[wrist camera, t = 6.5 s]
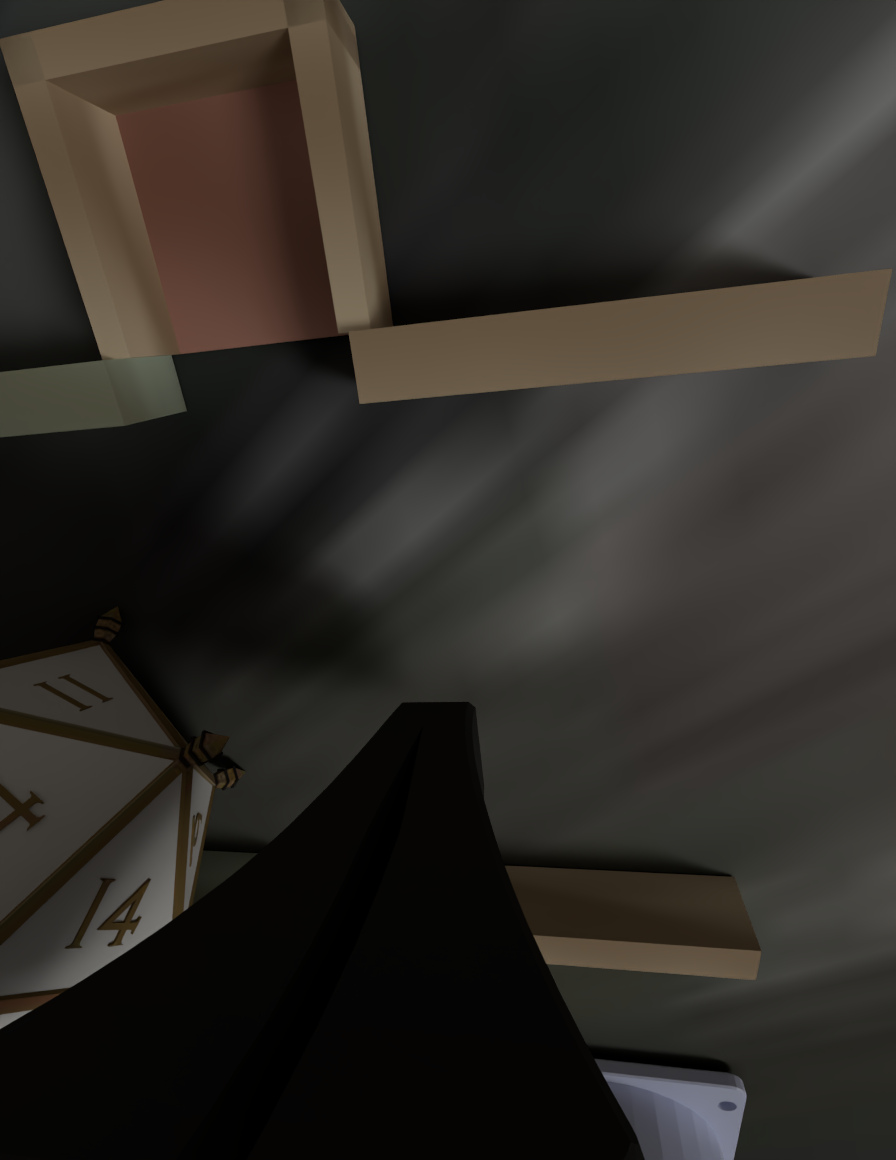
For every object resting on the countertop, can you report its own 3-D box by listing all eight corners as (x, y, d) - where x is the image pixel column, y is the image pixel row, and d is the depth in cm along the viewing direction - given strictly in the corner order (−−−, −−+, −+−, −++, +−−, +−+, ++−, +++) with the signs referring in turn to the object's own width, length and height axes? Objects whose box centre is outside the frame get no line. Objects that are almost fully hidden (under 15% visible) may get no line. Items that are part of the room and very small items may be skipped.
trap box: (715, 1001, 16) (754, 1142, 13) (40, 943, 19) (-40, 1044, 17) (877, -86, 7) (1103, -357, 4) (-415, 189, 11) (-744, 140, 8)
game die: (246, 596, 17) (318, 689, 8) (227, 867, 17) (272, 1249, 8) (-162, 579, 13) (-979, 727, 4) (-170, 929, 13) (-893, 1770, 4)
